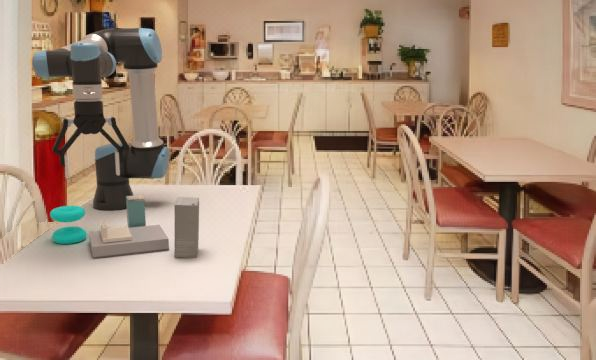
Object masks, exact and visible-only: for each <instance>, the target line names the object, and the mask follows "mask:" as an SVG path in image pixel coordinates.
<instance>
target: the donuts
mask: <svg viewBox="0 0 596 360" xmlns="http://www.w3.org/2000/svg"><path fill="white" fill-rule="evenodd" d="M85 215H86V210H85V209H84V207H82V206H79V205H63V206H62V205H61V206H59V207H55V208H53V209H52V210H50V213H49V216H50V218H51V219H52V220H53V221H54V222H57V223H73V222H77V221H79V220H81V219H82V218H84V217H85ZM87 235H88V233H87V230H85V229H84V228H82V227H80V226H65V227H60V228H58V229H57V230H54V231H53V233H52V236H51V239H52V241H53V242H54V243H56V244H61V245H69V244H70V245H73V244H76V243H80V242H83V241H84V240H85V239H86V238H87Z"/></svg>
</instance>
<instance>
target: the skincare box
mask: <svg viewBox="0 0 596 360" xmlns="http://www.w3.org/2000/svg"><path fill="white" fill-rule="evenodd" d="M199 225H200V198H199V197H189V196H187V197H186V196H185V197H184V196H178V197H177V198H176V200H175V202H174V251H173V254H174V255H173V256H174V258H177V259H179V258H180V259H181V258H187V259H188V258H189V259H191V258H193V259H194V258H198V253H199V238H200V236H199V234H200V233H199V232H200V231H199V229H200V227H199Z"/></svg>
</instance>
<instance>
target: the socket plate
mask: <svg viewBox="0 0 596 360" xmlns="http://www.w3.org/2000/svg"><path fill="white" fill-rule="evenodd" d="M128 229H129V231H130V233H131V235H132V240H126V241H117V242H107V243H103V241H102V237H101V234H100V230H91V231H89V232H88V235H89V236H88V239H89V240H88V241H89V245H90V246H89V247H90V250H91V254H92V259H93V260H96V259H104V258H113V257H122V256H130V255H132V256H133V255H138V254H148V253H156V252H157V253H158V252H164V251H166V252H167V251H170V243H169V238H168V235H167V234H166V233H165V231H164V230H163V228H162V226H161V225H160V224H152V225H146V226H140V227H130V228H128Z"/></svg>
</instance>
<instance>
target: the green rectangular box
mask: <svg viewBox="0 0 596 360" xmlns="http://www.w3.org/2000/svg"><path fill="white" fill-rule="evenodd" d="M126 206H127V208H126V219H127V220H126V222H127V227H128V228H130V227H140V226H147V224H146V223H147V222H146V204H145V197H144V195H143V194H138V195H135V194H134V196H126Z"/></svg>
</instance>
